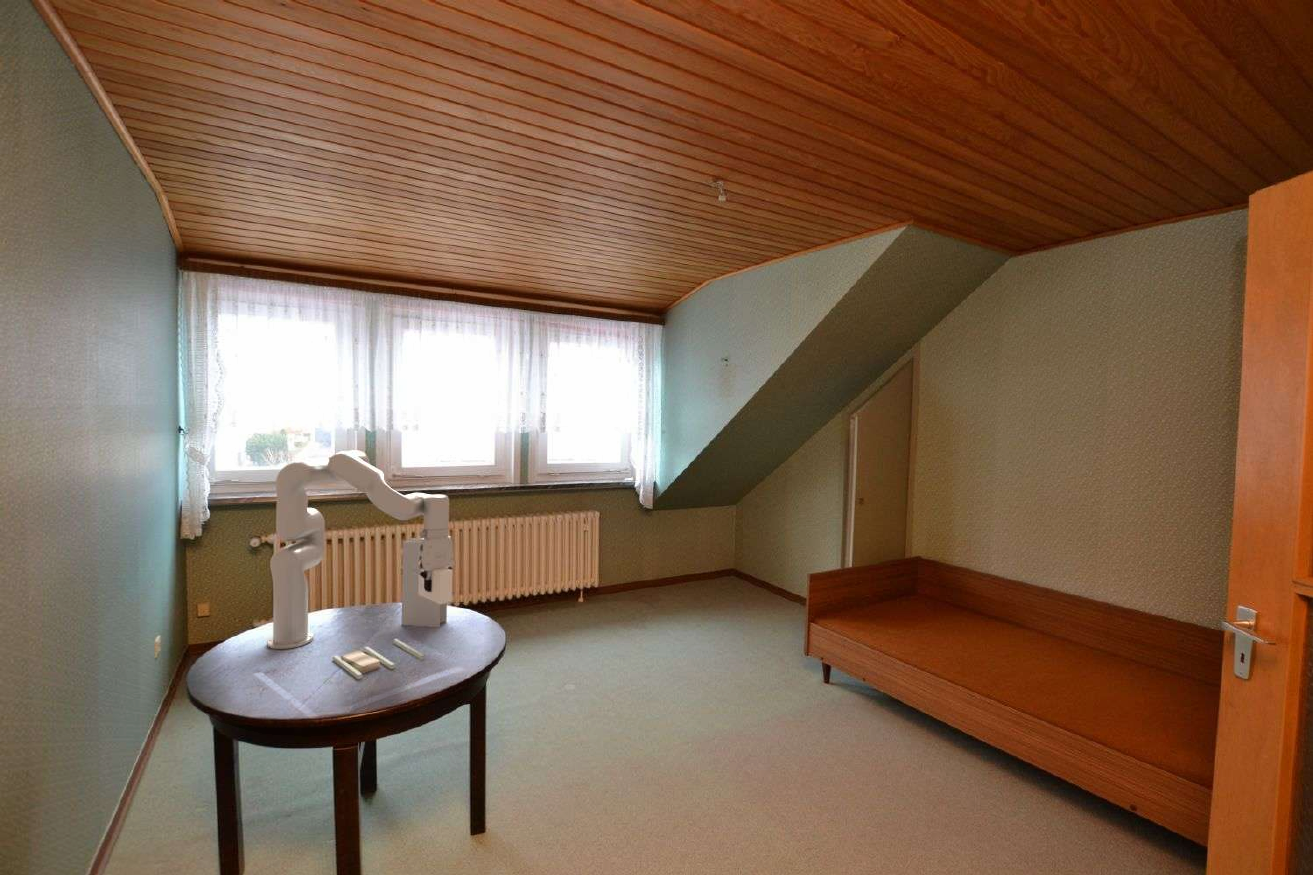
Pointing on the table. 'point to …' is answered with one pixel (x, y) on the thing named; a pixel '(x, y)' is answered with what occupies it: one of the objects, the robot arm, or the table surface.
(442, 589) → the cream rectangular block
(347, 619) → the table surface
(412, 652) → the rack
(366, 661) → the offcut upper
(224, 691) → the table surface
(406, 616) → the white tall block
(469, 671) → the table surface
